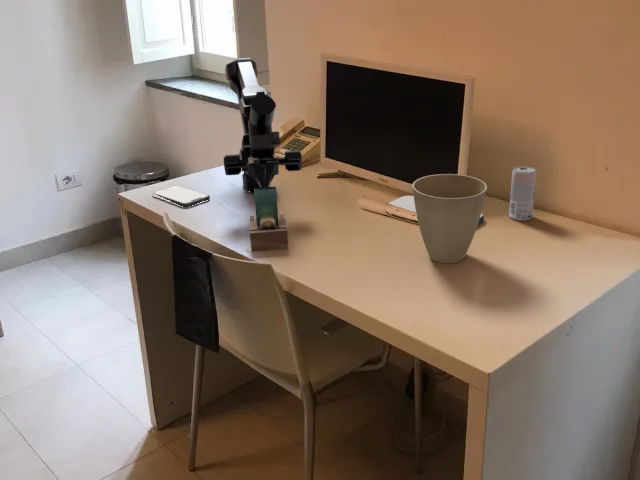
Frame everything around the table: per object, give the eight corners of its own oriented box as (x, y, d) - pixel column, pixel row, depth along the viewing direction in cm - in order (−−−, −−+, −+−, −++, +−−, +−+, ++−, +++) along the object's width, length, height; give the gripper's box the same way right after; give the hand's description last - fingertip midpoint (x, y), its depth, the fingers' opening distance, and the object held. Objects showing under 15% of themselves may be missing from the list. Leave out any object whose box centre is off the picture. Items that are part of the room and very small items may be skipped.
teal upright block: (256, 224, 165) (253, 188, 161) (278, 223, 165) (275, 186, 161) (257, 237, 157) (254, 199, 154) (279, 235, 158) (277, 198, 154)
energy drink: (529, 213, 166) (534, 165, 161) (533, 221, 161) (538, 172, 156) (507, 213, 166) (510, 165, 161) (510, 221, 161) (514, 172, 157)
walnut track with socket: (250, 223, 166) (249, 206, 164) (284, 221, 166) (283, 204, 165) (251, 251, 150) (249, 233, 149) (288, 248, 151) (287, 230, 149)
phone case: (151, 198, 188) (185, 210, 177) (150, 192, 187) (184, 204, 176) (177, 190, 193) (212, 201, 183) (177, 184, 193) (211, 195, 182)
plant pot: (398, 249, 149) (399, 180, 142) (458, 238, 153) (461, 170, 147) (432, 277, 136) (435, 202, 129) (496, 263, 140) (502, 190, 134)
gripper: (220, 122, 160) (223, 181, 154) (299, 117, 162) (305, 175, 156) (224, 146, 171) (227, 202, 165) (298, 141, 172) (304, 197, 166)
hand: (265, 194), depth 163 cm, fingers closed
